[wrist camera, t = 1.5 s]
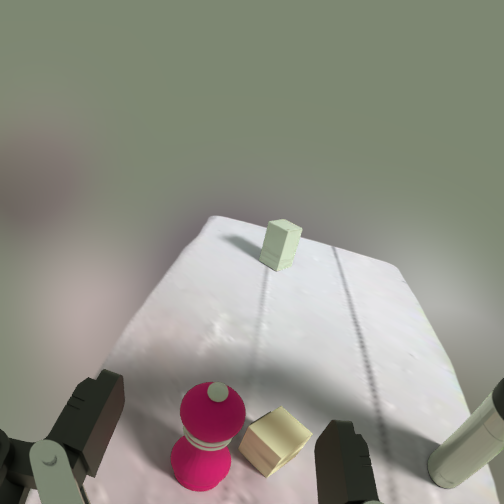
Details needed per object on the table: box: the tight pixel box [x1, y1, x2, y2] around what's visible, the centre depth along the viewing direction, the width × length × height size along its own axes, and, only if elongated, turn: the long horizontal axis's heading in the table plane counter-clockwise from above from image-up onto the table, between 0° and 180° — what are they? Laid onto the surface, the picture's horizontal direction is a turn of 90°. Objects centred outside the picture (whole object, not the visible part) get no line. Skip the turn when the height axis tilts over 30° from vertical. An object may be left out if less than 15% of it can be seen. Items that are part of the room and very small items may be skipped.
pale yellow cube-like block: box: [238, 406, 312, 478], centre depth 36 cm, size 6×6×7 cm
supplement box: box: [259, 219, 302, 271], centre depth 89 cm, size 7×7×13 cm
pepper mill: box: [171, 382, 246, 492], centre depth 28 cm, size 7×7×20 cm
